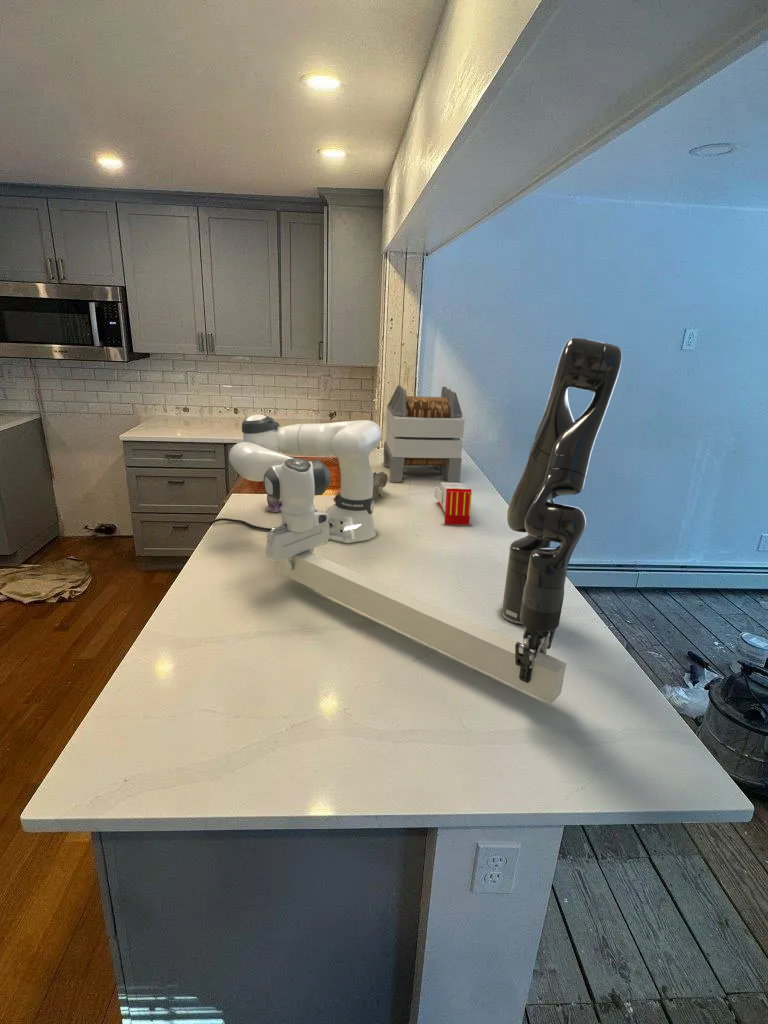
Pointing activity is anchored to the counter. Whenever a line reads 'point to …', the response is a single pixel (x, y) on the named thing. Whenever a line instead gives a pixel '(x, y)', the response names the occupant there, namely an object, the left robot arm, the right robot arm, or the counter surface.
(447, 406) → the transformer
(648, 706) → the counter surface
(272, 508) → the figurine
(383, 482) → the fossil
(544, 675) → the post
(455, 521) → the toy
